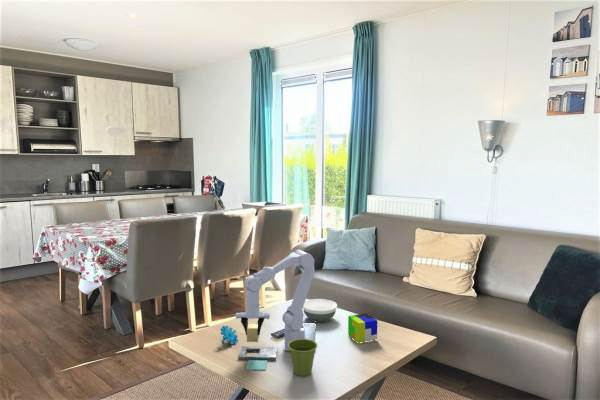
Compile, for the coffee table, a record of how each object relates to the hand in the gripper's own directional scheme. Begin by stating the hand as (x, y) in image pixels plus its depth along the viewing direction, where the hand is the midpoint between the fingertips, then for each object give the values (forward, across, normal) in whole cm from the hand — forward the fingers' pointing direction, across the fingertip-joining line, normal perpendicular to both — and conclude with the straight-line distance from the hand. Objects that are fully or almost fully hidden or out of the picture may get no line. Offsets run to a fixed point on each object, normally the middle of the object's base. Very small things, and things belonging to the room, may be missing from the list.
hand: (252, 334), depth 180 cm
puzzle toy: (+10, +50, +20) cm, 54 cm away
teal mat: (+9, +3, -9) cm, 13 cm away
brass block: (+2, 0, 0) cm, 2 cm away
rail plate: (+9, +2, +1) cm, 10 cm away
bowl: (+10, +30, +43) cm, 53 cm away
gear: (+10, -13, +13) cm, 20 cm away
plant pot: (+10, +22, -13) cm, 27 cm away
